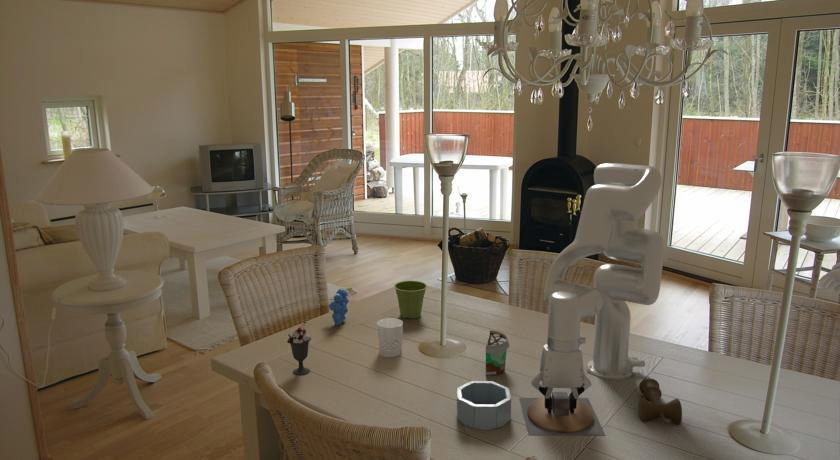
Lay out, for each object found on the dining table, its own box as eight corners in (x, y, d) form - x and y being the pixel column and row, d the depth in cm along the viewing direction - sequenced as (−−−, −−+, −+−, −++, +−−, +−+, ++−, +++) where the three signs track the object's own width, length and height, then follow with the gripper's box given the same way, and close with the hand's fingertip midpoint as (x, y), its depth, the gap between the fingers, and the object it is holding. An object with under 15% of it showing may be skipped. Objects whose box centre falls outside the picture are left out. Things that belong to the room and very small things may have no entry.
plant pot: (415, 324, 220) (415, 293, 217) (387, 317, 226) (387, 287, 224) (433, 313, 230) (433, 283, 227) (406, 307, 236) (406, 278, 233)
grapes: (335, 315, 228) (333, 283, 226) (353, 317, 227) (351, 285, 224) (323, 327, 217) (321, 294, 215) (342, 329, 216) (340, 295, 213)
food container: (507, 381, 178) (507, 347, 176) (485, 379, 179) (485, 346, 177) (510, 362, 190) (510, 330, 187) (489, 360, 191) (489, 329, 188)
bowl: (506, 404, 165) (507, 381, 164) (512, 431, 153) (513, 406, 151) (456, 403, 166) (456, 381, 164) (458, 430, 153) (458, 406, 152)
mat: (587, 399, 167) (588, 397, 167) (605, 437, 150) (605, 435, 150) (519, 399, 168) (519, 397, 168) (528, 437, 150) (528, 435, 150)
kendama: (667, 397, 169) (686, 436, 150) (629, 395, 171) (643, 434, 151) (668, 376, 168) (687, 412, 149) (630, 374, 170) (644, 410, 150)
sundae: (317, 369, 187) (314, 320, 183) (304, 378, 181) (301, 329, 177) (298, 365, 189) (295, 317, 186) (285, 374, 183) (281, 325, 180)
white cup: (373, 356, 195) (372, 325, 192) (384, 346, 202) (383, 316, 200) (397, 360, 192) (396, 329, 190) (407, 350, 199) (406, 319, 197)
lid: (584, 399, 166) (585, 380, 165) (600, 433, 151) (601, 412, 149) (523, 399, 166) (523, 380, 165) (532, 433, 151) (533, 412, 150)
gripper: (594, 336, 157) (591, 403, 162) (525, 336, 158) (523, 403, 162) (602, 348, 150) (598, 418, 154) (529, 348, 151) (527, 418, 155)
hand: (560, 410), depth 158 cm, fingers open, 4 cm apart
